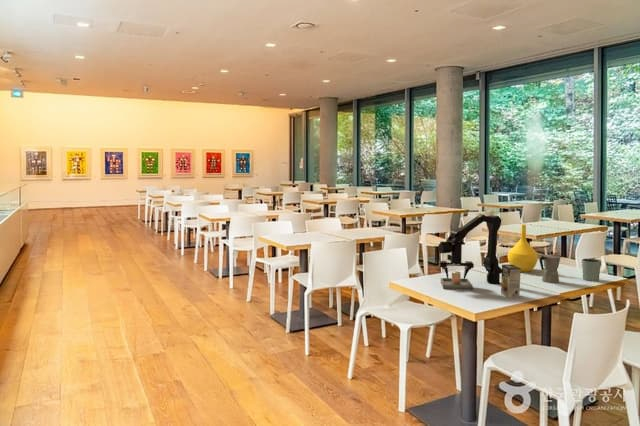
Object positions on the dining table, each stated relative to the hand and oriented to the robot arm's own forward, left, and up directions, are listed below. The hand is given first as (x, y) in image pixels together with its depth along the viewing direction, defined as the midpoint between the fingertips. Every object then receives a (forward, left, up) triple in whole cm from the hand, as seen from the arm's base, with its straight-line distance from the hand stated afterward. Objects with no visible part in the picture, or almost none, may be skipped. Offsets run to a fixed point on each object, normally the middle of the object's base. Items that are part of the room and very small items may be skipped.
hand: (455, 279), depth 286 cm
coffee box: (-26, +18, -4) cm, 32 cm away
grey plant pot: (-82, -23, -4) cm, 85 cm away
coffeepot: (-56, -16, -4) cm, 58 cm away
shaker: (0, 0, -3) cm, 3 cm away
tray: (0, 0, -4) cm, 4 cm away
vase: (-48, -45, -4) cm, 66 cm away
